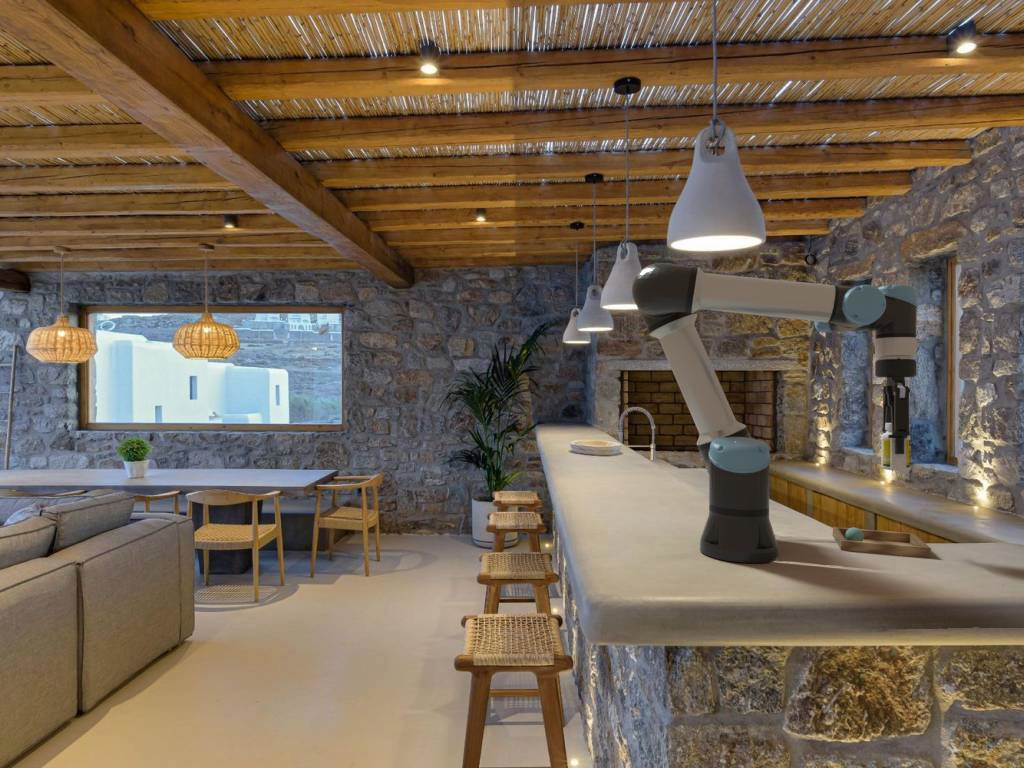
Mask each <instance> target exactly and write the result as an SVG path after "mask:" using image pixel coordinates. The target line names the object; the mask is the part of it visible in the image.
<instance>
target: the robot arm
mask: <svg viewBox="0 0 1024 768" xmlns="http://www.w3.org/2000/svg"><path fill="white" fill-rule="evenodd" d="M916 290H917V289H916V288H915V287H914V286H913V285H911V284H890V285H888V284H887V285H883V286H878V287H876V286H874V285H871V284H860V285H855V286H846V285H834V284H827V283H826V284H825V283H813V282H803V281H796V280H795V281H793V280H782V279H772V278H762V277H761V278H760V277H751V276H739V275H731V274H730V275H729V274H721V273H720V274H719V273H709V272H707V273H706V272H704V271H703V270H702V269H701V267H699V266H698V267H697V266H687V265H681V264H675V263H668V262H667V263H666V262H656V263H652V264H649V265H647V266H645V267H644V268H642V269H641V270H640V271H639V272H638V273H637V274H636V276H635V278H634V280H633V282H632V287H631V296H632V299H633V302H634V304H635V305H636V308H637V309H638V312H639V313H640V316H641V317H642V321H643V322H644V325H645V327H646V330H647V332H648V334H649V336H650V337H653V338H656V339H658V340H659V342H660V346H661V347H662V350H663V352H664V355H665V357H666V359H667V362H668V364H669V366H670V368H671V371H672V373H673V375H674V378H675V380H676V382H677V384H678V387H679V389H680V393H681V394H682V397H683V399H684V401H685V404H686V406H687V409H688V410H689V413H690V414H691V418H692V419H693V422H694V424H695V427H696V429H697V431H698V434H699V435H698V439H697V441H696V446H697V448H698V451H699V454H700V455H701V458H702V461H703V463H704V466H705V468H706V471H707V473H708V476H709V478H708V479H709V480H708V481H709V487H708V488H709V489H708V490H709V491H708V492H709V493H708V494H709V497H708V500H709V501H708V503H709V509H708V510H709V512H708V516H707V519H706V522H705V526H704V528H703V531H702V534H701V536H700V540H699V542H700V543H699V551H700V552H701V553H702V554H704V555H705V556H708V557H710V558H714V559H718V560H720V561H721V560H722V561H727V562H733V563H735V562H736V563H747V564H748V563H749V564H750V563H751V564H756V563H757V564H761V563H769V562H773V561H776V560H777V559H776V558H778V556H779V545H778V542H777V539H776V535H775V533H774V529H773V527H772V523H771V520H770V464H771V459H772V457H771V454H770V447H769V445H768V444H767V443H766V442H765V441H764V440H760V439H755V438H752V436H751V434H750V431H749V430H748V427H747V425H746V424H743V423H741V422H739V421H737V419H736V418H735V417H736V416H734V413H733V411H732V408H731V405H730V403H729V401H728V399H727V397H726V395H725V392H724V390H723V387H722V385H721V383H720V381H719V378H718V376H717V374H716V372H715V370H714V366H713V365H712V362H711V359H710V358H709V355H708V353H707V350H706V349H705V346H704V344H703V341H702V340H701V337H700V335H699V333H698V331H697V328H696V326H695V322H696V320H697V318H698V312H697V311H698V310H703V311H704V310H705V311H715V312H722V313H723V312H725V313H734V314H743V315H744V314H745V315H753V316H754V315H755V316H763V317H769V318H770V317H771V318H779V319H780V318H781V319H791V320H801V321H810V322H811V321H812V322H813V324H814V325H813V326H814V327H815V330H817V332H827V333H828V332H829V333H831V334H832V333H835V332H836V333H837V332H839V333H841V332H843V333H844V332H846V333H847V332H874V334H875V338H874V357H875V358H877V359H876V361H875V362H874V363H875V364H874V365H875V366H874V372H875V374H874V375H875V377H877V378H886V383H885V385H883V388H882V389H881V390H882V391H881V392H882V401H883V402H882V429H881V431H882V432H883V434H884V433H886V430H885V423H892V435H888V438H891V470H890V471H897V470H906V438H907V436H909V435H910V392H911V389H910V387H909V386H908V385H906V379H905V378H914V377H916V376H917V360H916V359H913V358H915V357H916V356H917V348H919V347H920V343H919V342H917V318H918V317H917V316H918V315H917V314H918V313H917V312H918V301H917V291H916Z"/></svg>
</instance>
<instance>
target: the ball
mask: <svg viewBox="0 0 1024 768" xmlns="http://www.w3.org/2000/svg"><path fill="white" fill-rule="evenodd" d="M848 528H849V529H848V530H847V531H846V538H847V540H851V541H863V539H864V534H863V532H862V531H861V530H860V529H861V528H858V527H854V526H853V527H848Z"/></svg>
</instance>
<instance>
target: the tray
mask: <svg viewBox="0 0 1024 768" xmlns="http://www.w3.org/2000/svg"><path fill="white" fill-rule="evenodd" d="M849 528H850V527H834V526H832V537H833V539H834V540H835V543H837V546H838V548H839V549H840V551H844V552H845V551H846V552H847V551H849V552H859V553H872V554H880V555H893V556H894V555H896V556H903V557H904V556H905V557H917V558H927V559H932V547H930V545H928V544H927V543H925V542H924V541H923V540H922V539H921V538H920V537H919V536H918V535H916V534H915V532H912V533H911V532H902V531H889V530H875V529H873V530H872V529H862V528H859V529H860V530H861V531H862V532H863V534H864V539H863V541H851V540H847V538H846V531H847V530H848V529H849Z"/></svg>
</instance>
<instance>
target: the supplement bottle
mask: <svg viewBox="0 0 1024 768" xmlns="http://www.w3.org/2000/svg"><path fill="white" fill-rule="evenodd" d="M885 430H886V433H884V432H883V433H882V434H881V438H880V441H881V444H880V468H881V469H883V470H887V471H892V470H891V438H888V435H892V423H885ZM911 442H912V438H911V435H910V434H909V436H907V438H906V470H896V471H903V472H907V471H910V470H911V466H912V465H911V464H912V463H911V459H912V457H911V455H912V453H911V452H912V450H911V447H912V443H911Z"/></svg>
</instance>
